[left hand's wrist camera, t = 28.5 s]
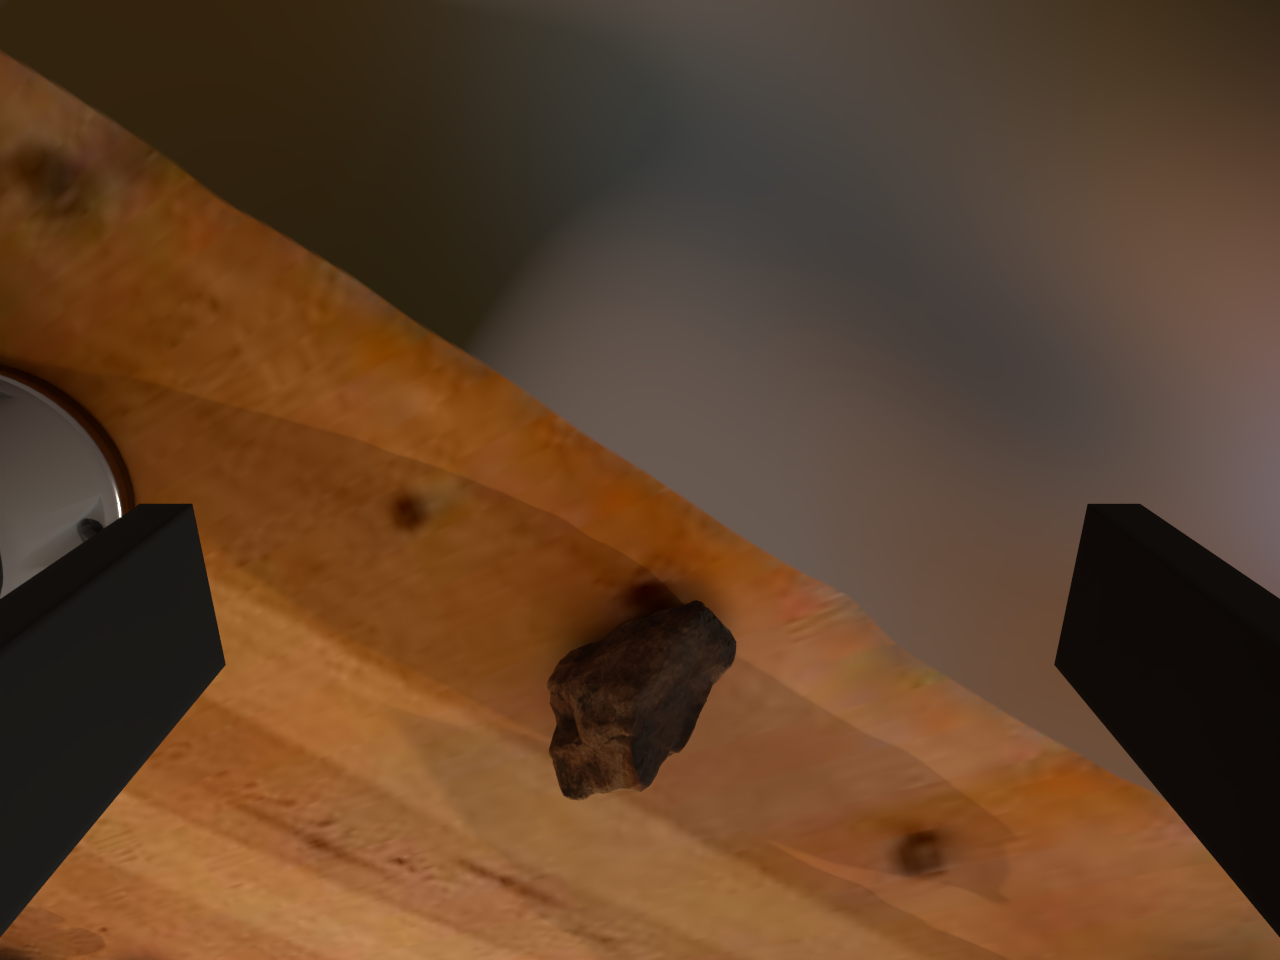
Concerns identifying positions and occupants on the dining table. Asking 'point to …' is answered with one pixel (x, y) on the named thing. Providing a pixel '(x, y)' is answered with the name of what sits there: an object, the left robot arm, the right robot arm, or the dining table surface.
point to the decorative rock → (634, 698)
